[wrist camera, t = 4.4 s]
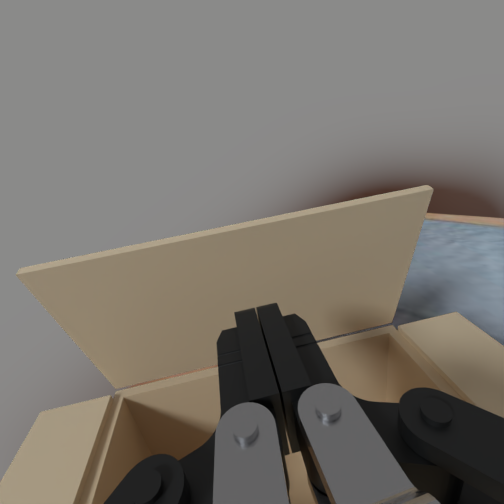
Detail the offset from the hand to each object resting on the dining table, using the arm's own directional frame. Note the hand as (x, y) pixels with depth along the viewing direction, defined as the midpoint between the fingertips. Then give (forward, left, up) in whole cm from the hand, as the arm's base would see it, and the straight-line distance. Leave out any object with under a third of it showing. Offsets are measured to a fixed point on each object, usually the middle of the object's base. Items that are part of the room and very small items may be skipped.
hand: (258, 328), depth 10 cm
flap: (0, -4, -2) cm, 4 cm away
